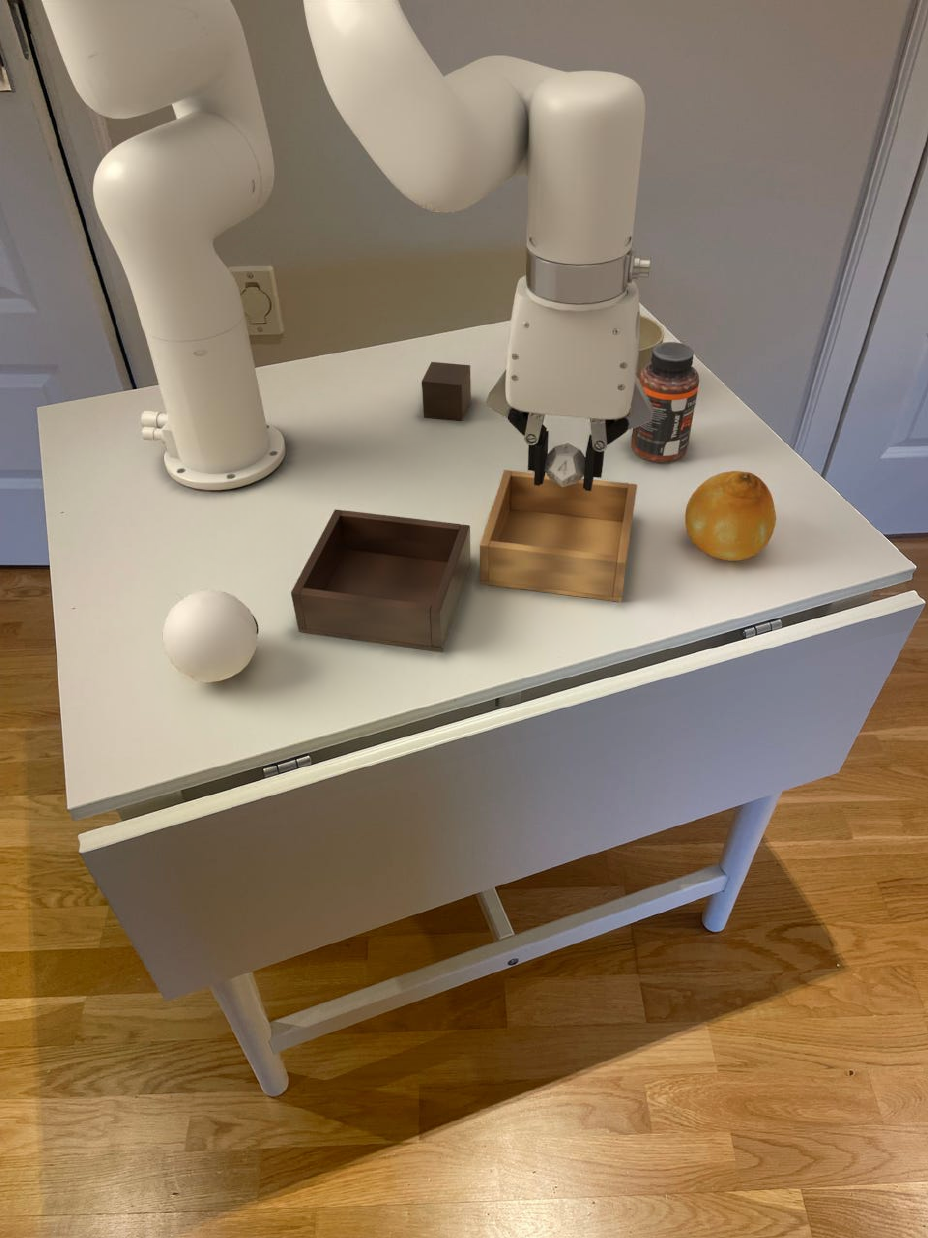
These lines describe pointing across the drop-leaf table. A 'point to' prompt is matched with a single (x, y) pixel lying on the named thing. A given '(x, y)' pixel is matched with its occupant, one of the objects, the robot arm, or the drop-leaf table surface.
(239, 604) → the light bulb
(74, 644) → the drop-leaf table surface
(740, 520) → the fruit
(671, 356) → the supplement bottle
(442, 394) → the walnut block
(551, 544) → the light bin
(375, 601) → the dark bin
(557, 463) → the game die
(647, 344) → the flower pot
